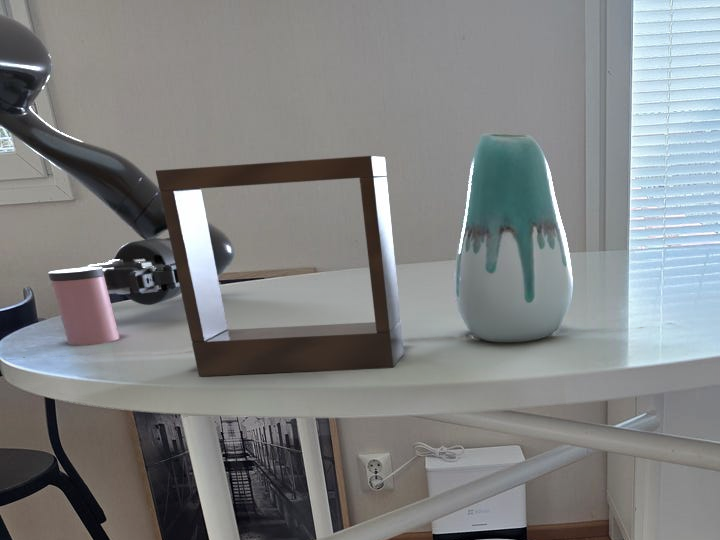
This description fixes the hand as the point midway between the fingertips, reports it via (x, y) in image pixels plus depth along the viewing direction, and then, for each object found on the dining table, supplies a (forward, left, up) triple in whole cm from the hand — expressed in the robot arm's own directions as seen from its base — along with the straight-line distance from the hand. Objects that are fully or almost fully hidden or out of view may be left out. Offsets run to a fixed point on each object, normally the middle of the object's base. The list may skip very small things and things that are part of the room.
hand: (99, 284), depth 99 cm
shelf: (+29, -22, -6) cm, 37 cm away
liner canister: (0, -4, -6) cm, 8 cm away
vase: (+49, -13, -6) cm, 51 cm away
